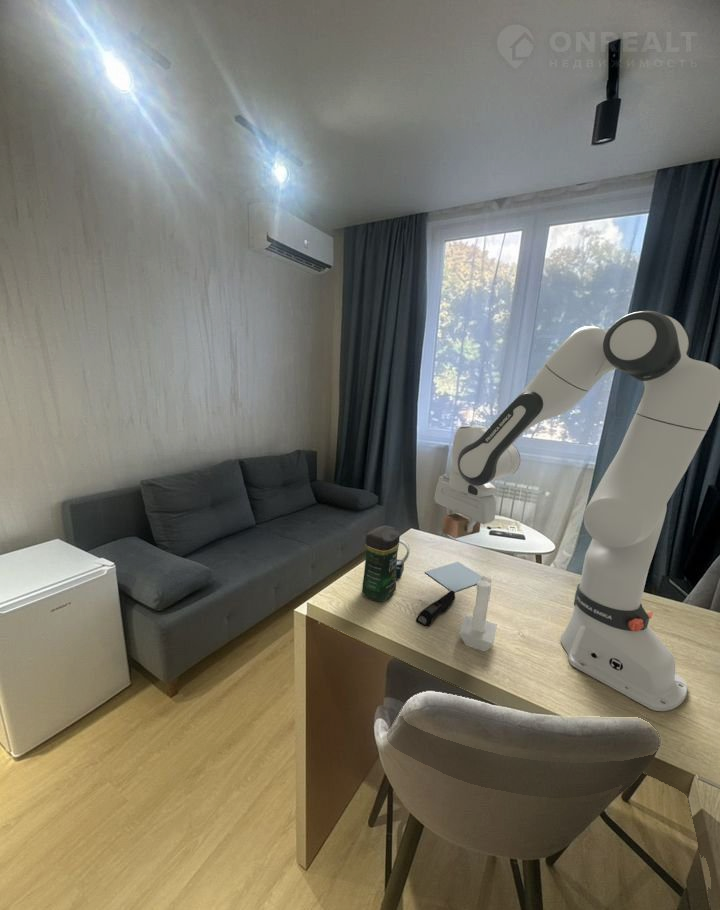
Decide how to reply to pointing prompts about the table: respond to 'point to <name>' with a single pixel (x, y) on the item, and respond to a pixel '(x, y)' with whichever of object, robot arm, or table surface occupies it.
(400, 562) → the watch
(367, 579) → the coffee jar
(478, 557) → the table surface
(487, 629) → the white peg stand
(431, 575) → the slate pad
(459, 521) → the walnut block
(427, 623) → the electric trimmer
